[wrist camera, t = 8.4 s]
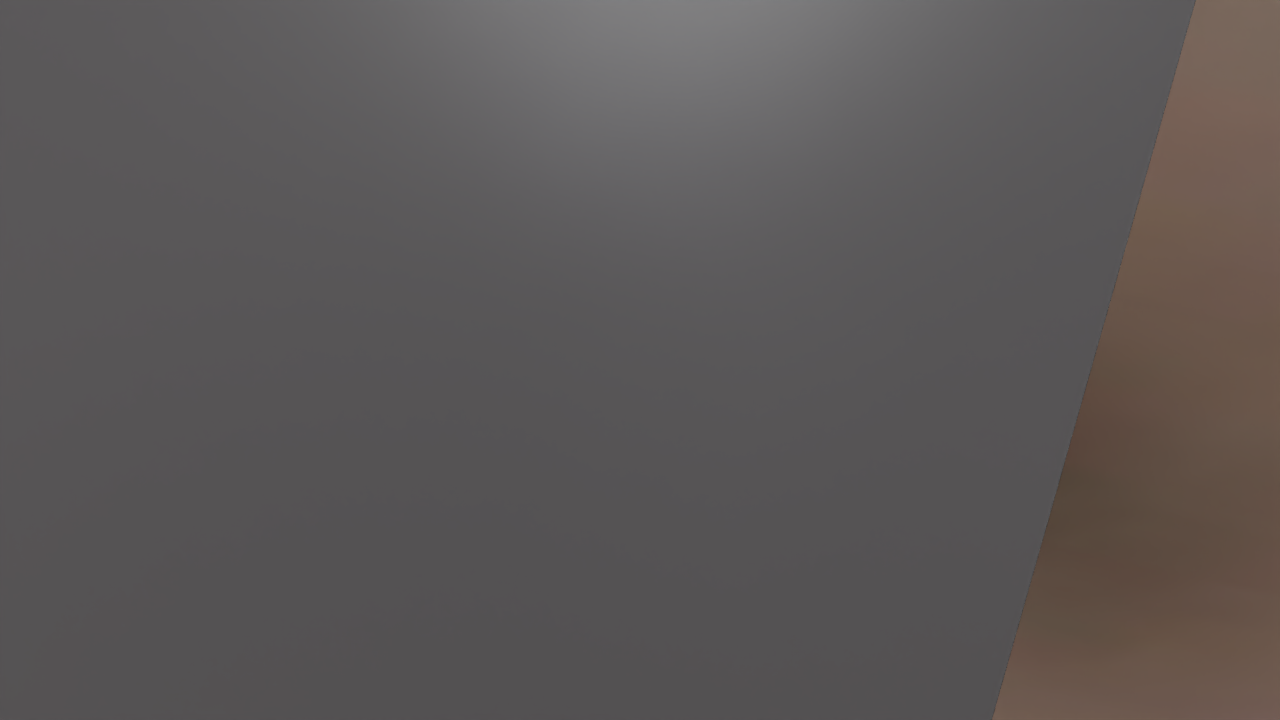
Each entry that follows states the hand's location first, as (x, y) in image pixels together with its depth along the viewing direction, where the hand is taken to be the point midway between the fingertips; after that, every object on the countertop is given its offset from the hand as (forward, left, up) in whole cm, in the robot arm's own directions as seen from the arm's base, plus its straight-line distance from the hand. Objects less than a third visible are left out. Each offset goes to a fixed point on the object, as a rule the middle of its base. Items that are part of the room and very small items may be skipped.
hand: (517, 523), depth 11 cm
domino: (0, -7, -3) cm, 7 cm away
